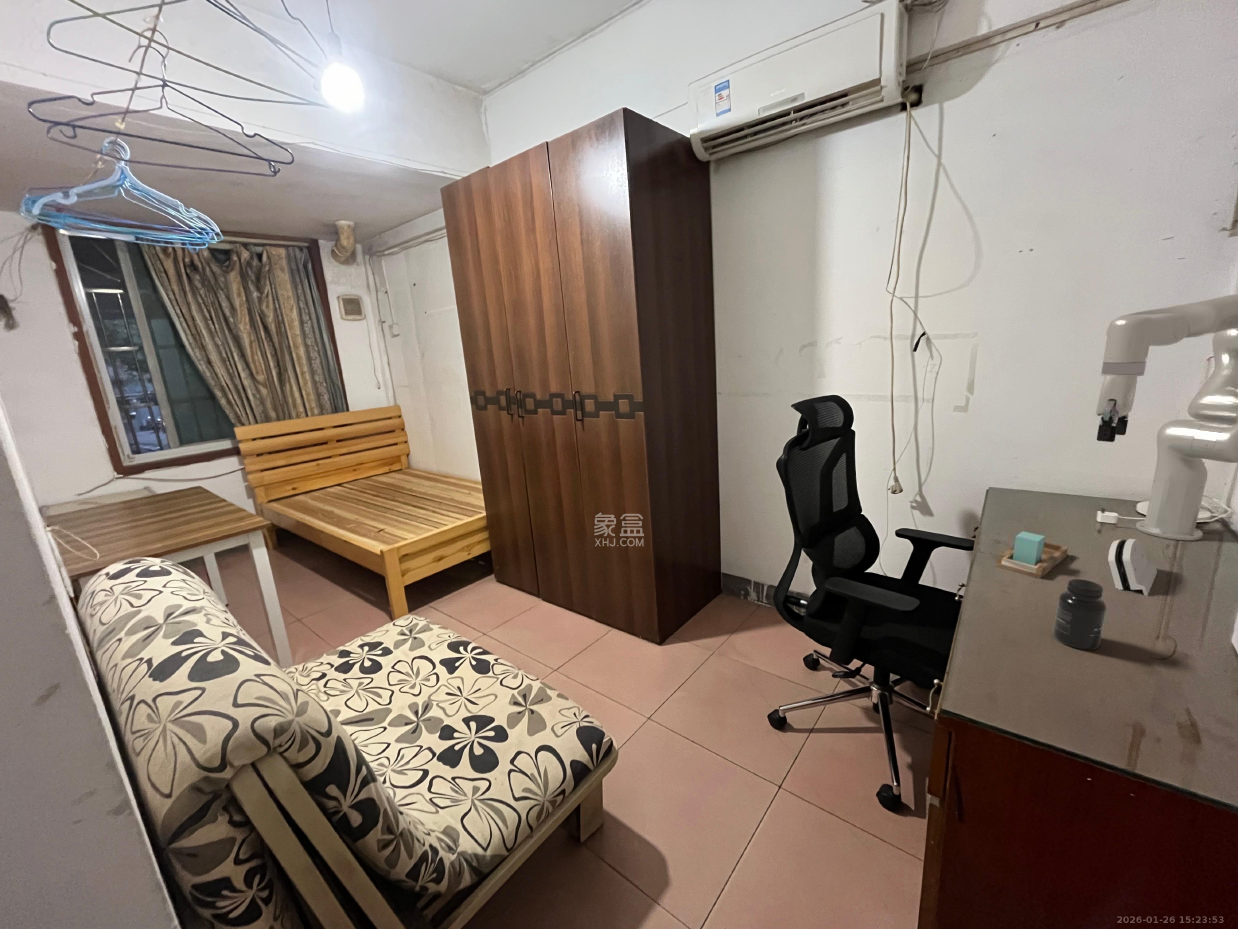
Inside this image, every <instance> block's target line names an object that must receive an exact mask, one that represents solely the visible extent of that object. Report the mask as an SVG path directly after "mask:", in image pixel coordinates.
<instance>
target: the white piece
mask: <svg viewBox="0 0 1238 929" xmlns="http://www.w3.org/2000/svg"><path fill="white" fill-rule="evenodd" d="M1108 550H1109V551H1108V556H1107V557H1108V558H1107V560H1108V564H1109V568H1110V572H1111V575H1112V580H1113V582H1114V586H1115V589H1116V588H1118V589H1117V590H1124V589H1126V587H1127V588H1128V589H1130V590H1132V591H1135V590H1137V591H1138V590H1142V593H1143V595H1144V596H1145V595H1146V597H1147V596H1149V594H1150V591H1151V589H1150V588H1152V585H1153V583H1154V582H1155V578H1156V575H1157V573H1158V570H1157V567H1156V564H1155V563H1152V562H1151V561H1149V560H1148V558H1147V556H1146V553H1145V551H1144V547H1143V544H1142V542H1141V540H1140V539H1134V538H1128V539H1124V538H1121V539H1117V540H1113V541H1112V543H1111V545H1110V548H1109V549H1108ZM1148 593H1149V594H1148Z"/></svg>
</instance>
